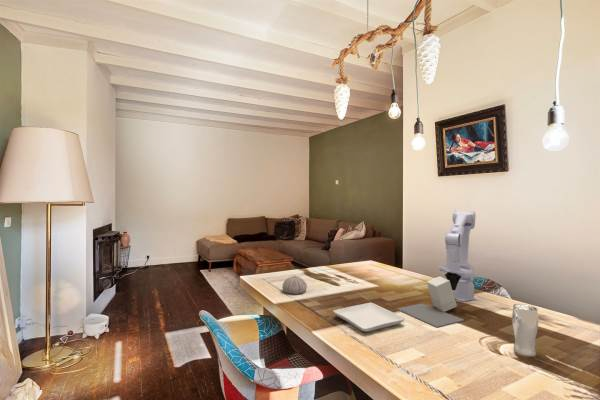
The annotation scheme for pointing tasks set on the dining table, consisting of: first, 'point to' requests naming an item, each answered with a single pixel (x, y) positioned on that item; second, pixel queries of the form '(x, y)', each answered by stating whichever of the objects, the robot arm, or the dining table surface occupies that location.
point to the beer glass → (525, 329)
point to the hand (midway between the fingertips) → (452, 289)
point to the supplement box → (441, 293)
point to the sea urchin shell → (294, 285)
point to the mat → (430, 315)
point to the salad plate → (369, 316)
